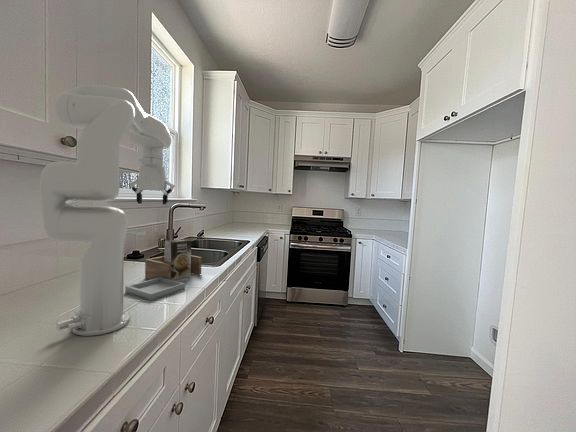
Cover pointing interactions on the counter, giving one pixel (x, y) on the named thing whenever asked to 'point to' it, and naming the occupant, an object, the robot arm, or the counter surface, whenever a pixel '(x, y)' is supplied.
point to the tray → (154, 288)
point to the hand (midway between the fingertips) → (152, 203)
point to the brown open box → (167, 267)
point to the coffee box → (178, 258)
